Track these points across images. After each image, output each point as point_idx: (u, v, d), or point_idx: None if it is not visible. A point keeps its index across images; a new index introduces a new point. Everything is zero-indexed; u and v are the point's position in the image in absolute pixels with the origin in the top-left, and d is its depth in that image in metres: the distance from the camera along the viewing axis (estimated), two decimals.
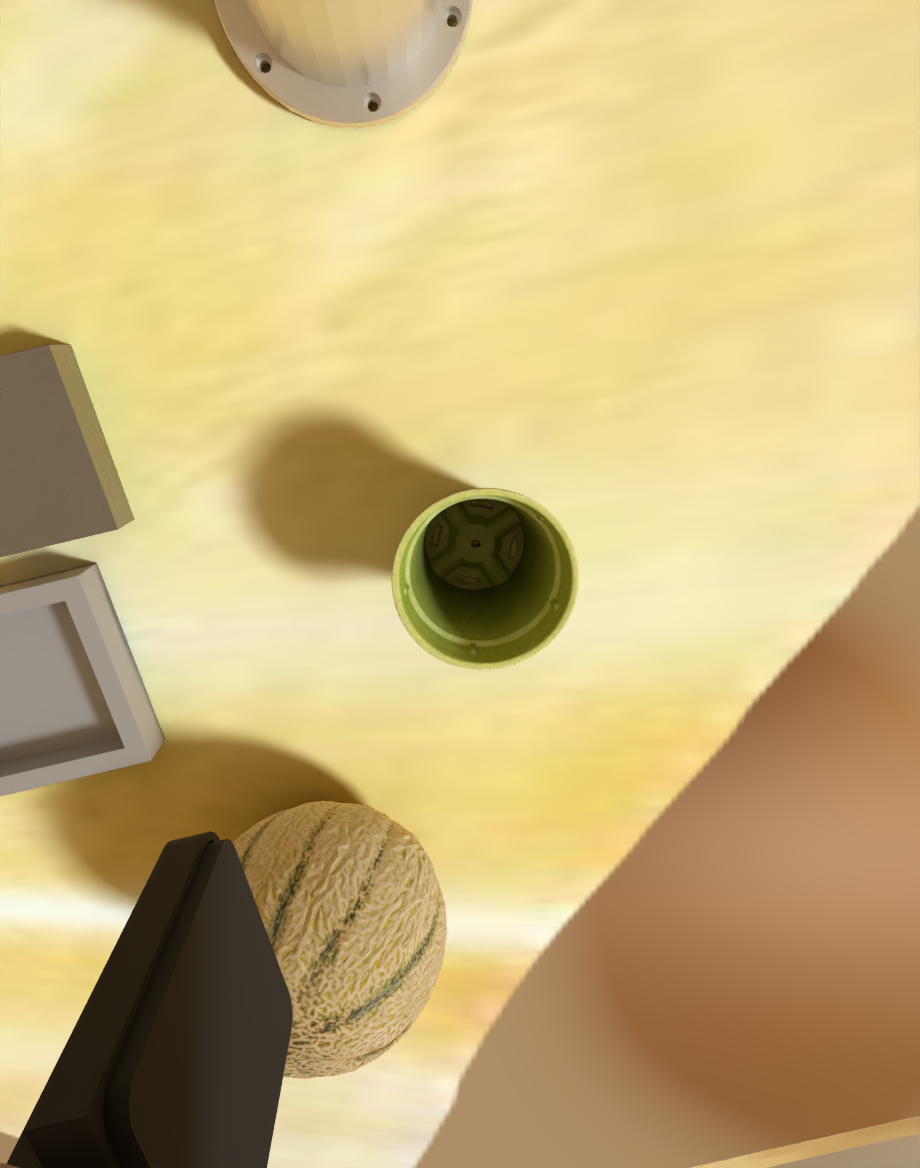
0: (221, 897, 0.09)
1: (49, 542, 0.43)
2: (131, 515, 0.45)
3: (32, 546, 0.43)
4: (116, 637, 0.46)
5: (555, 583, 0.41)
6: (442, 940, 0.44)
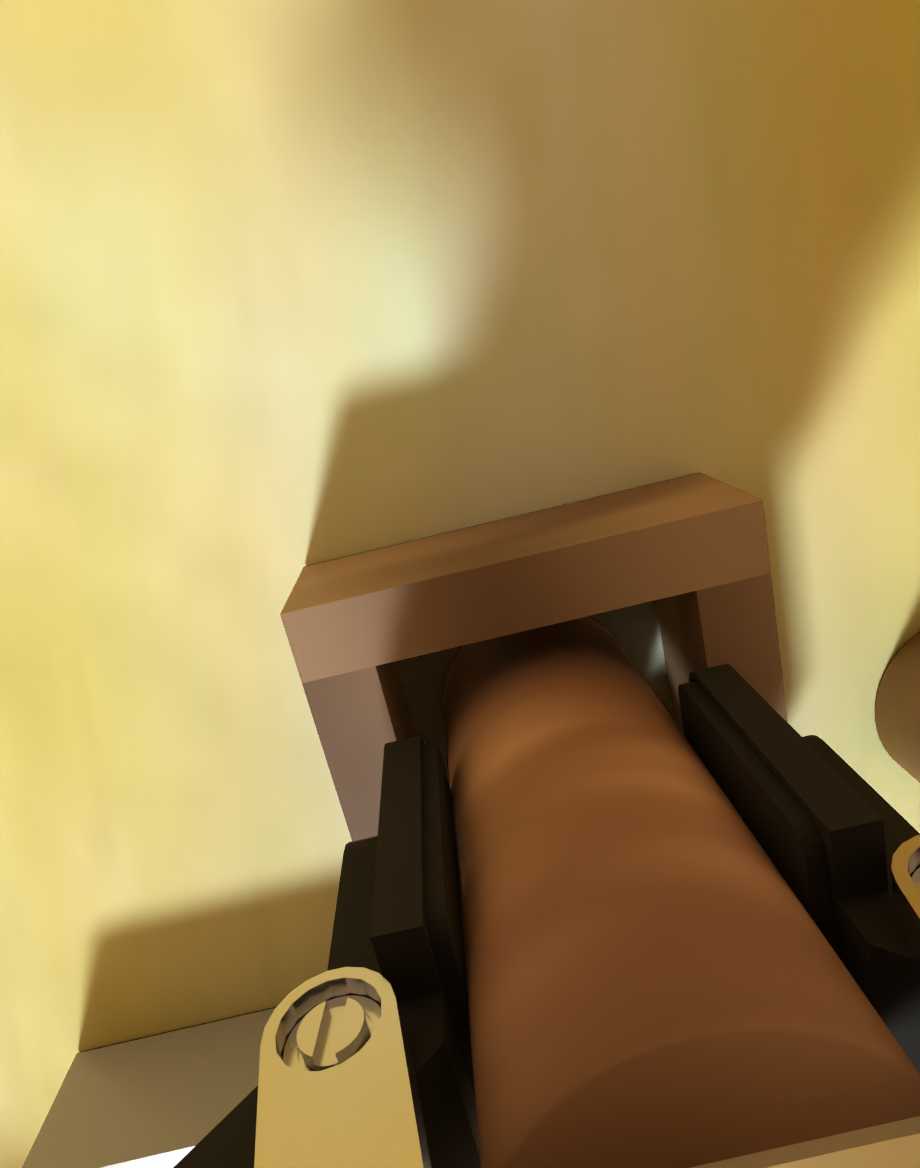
0: (443, 787, 0.10)
1: None
2: None
3: None
4: None
5: None
6: None
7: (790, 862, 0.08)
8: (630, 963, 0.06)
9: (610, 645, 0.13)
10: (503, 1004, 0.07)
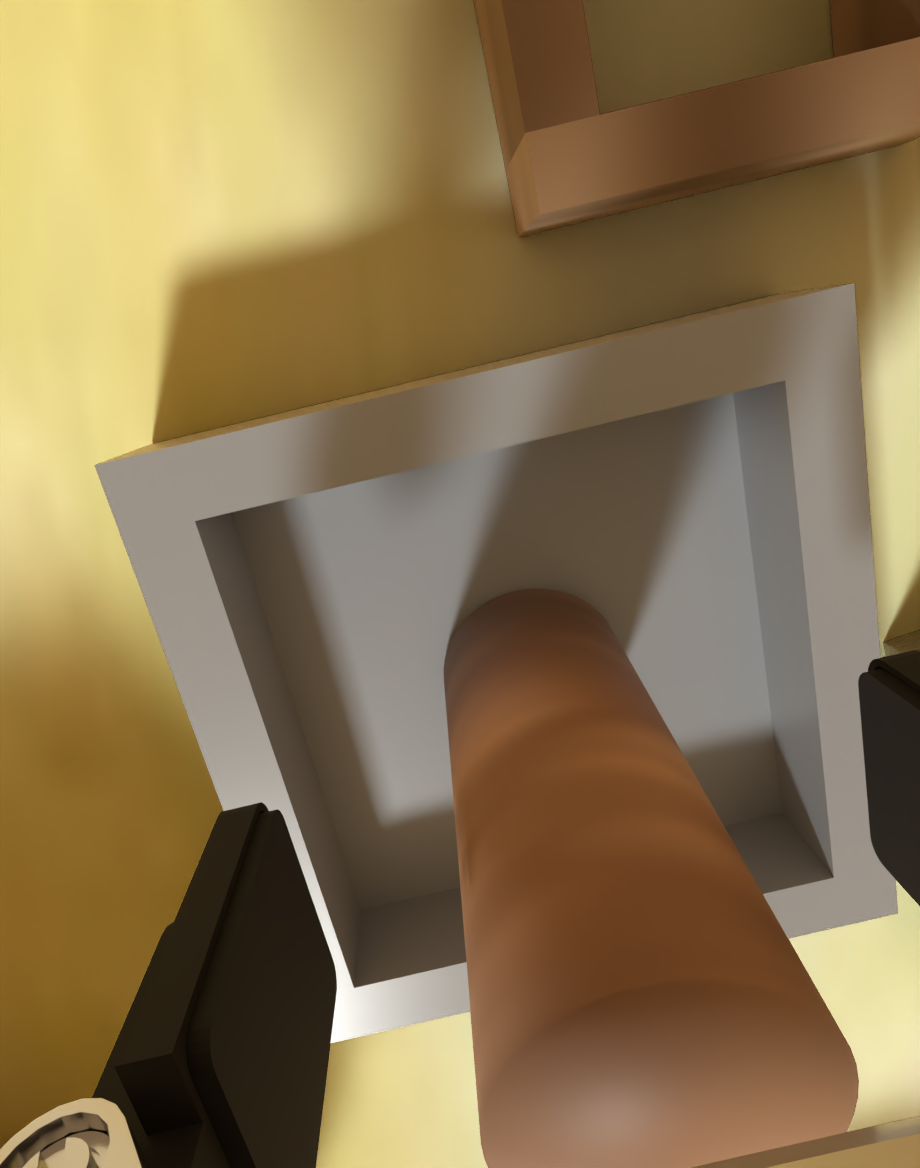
0: (274, 863, 0.09)
1: None
2: None
3: None
4: None
5: None
6: None
7: None
8: (598, 924, 0.07)
9: (596, 626, 0.14)
10: (495, 953, 0.08)
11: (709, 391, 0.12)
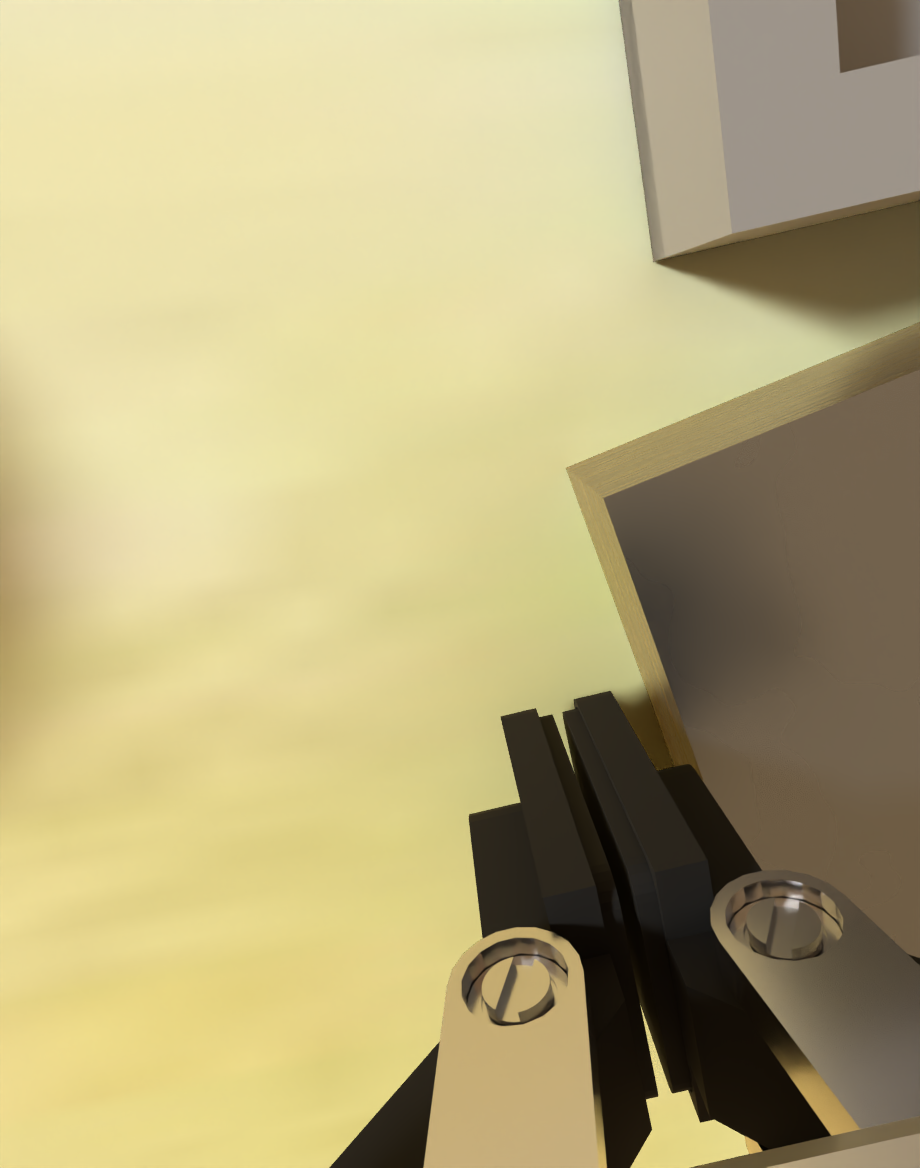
0: None
1: None
2: None
3: None
4: None
5: None
6: None
7: (630, 899, 0.08)
8: None
9: None
10: None
11: None
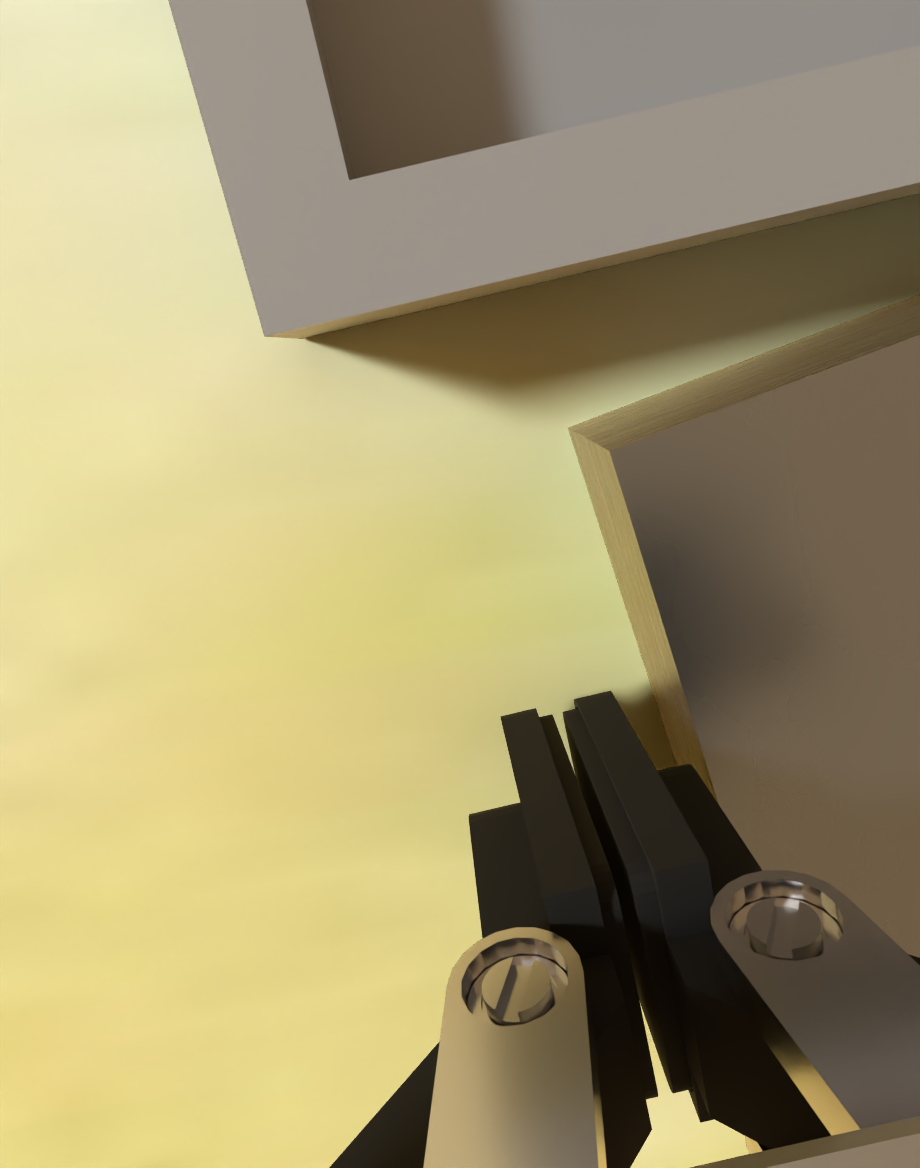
0: None
1: None
2: (575, 446, 0.11)
3: None
4: None
5: None
6: None
7: (630, 899, 0.08)
8: None
9: None
10: None
11: None
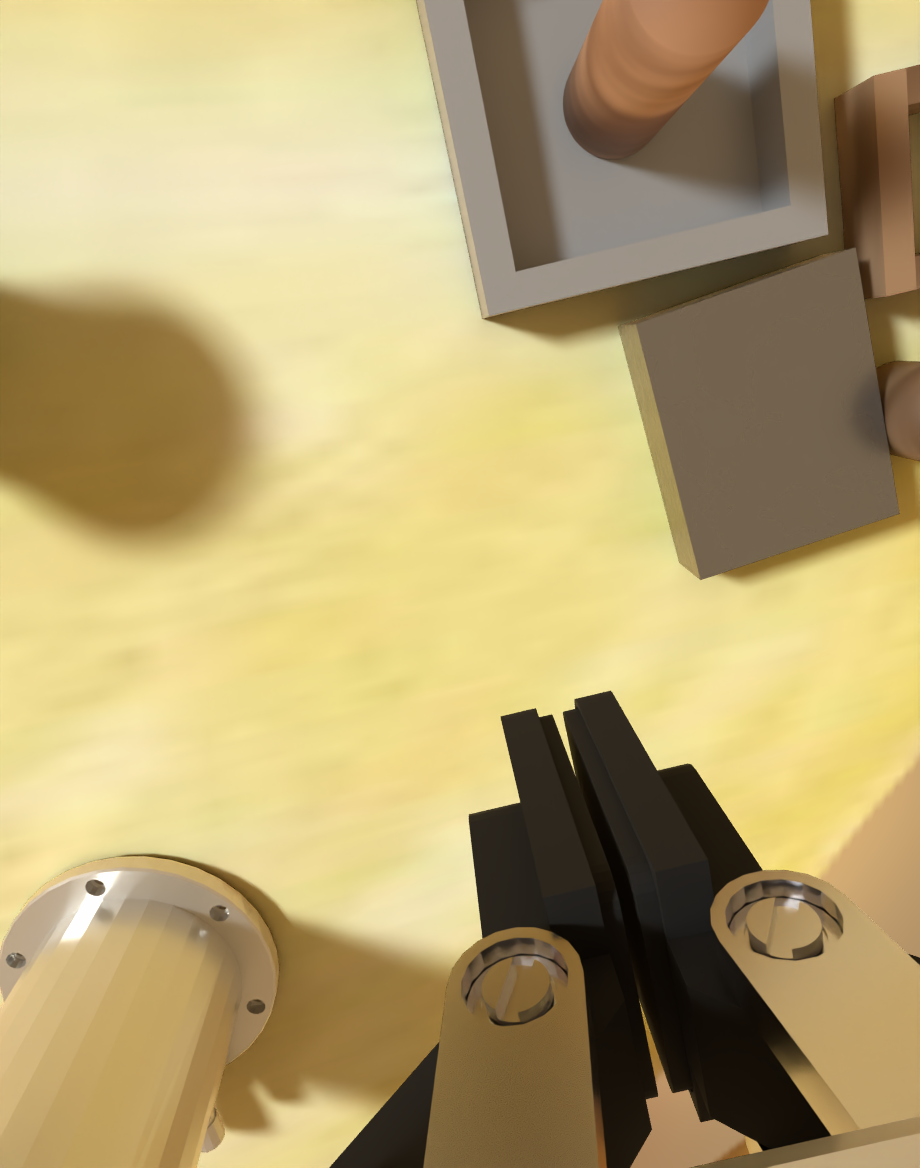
0: None
1: (742, 292, 0.27)
2: (620, 332, 0.30)
3: (769, 281, 0.27)
4: (457, 186, 0.27)
5: None
6: None
7: (631, 899, 0.08)
8: None
9: None
10: None
11: (790, 165, 0.26)
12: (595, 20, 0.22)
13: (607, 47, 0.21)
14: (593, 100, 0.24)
